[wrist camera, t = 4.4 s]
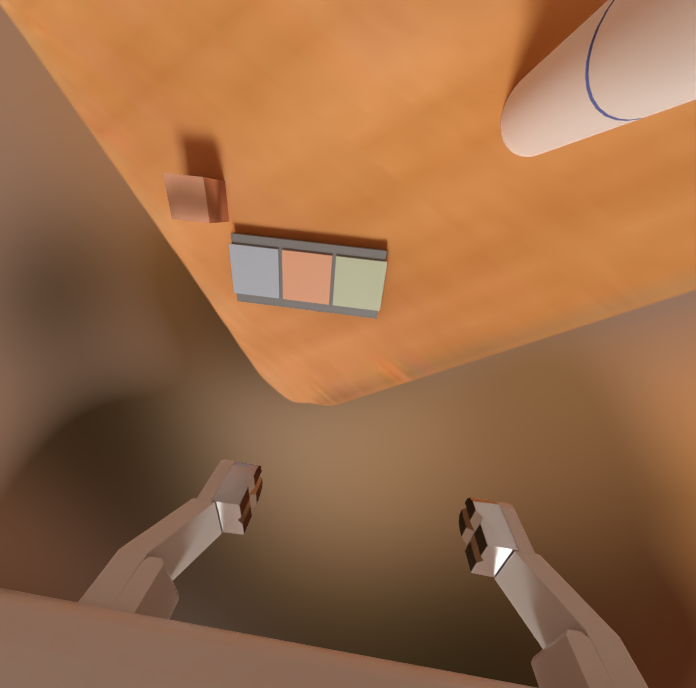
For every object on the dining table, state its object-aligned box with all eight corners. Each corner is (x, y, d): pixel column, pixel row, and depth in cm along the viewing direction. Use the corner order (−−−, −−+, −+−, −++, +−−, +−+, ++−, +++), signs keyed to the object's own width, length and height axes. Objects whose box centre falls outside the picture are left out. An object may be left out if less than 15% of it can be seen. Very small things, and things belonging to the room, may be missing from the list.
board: (233, 232, 35) (227, 233, 33) (388, 250, 34) (389, 251, 32) (239, 298, 39) (234, 301, 37) (378, 315, 38) (378, 319, 36)
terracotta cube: (189, 177, 32) (163, 172, 28) (225, 181, 32) (203, 177, 28) (195, 217, 34) (172, 218, 30) (229, 221, 34) (209, 223, 30)
